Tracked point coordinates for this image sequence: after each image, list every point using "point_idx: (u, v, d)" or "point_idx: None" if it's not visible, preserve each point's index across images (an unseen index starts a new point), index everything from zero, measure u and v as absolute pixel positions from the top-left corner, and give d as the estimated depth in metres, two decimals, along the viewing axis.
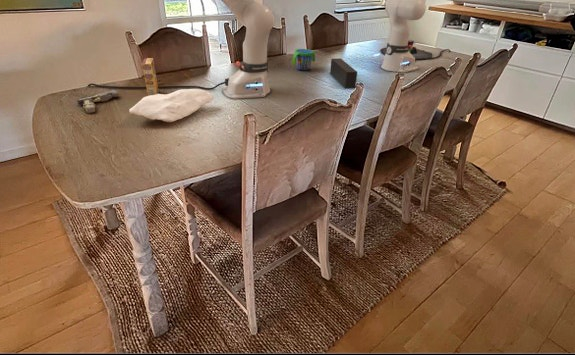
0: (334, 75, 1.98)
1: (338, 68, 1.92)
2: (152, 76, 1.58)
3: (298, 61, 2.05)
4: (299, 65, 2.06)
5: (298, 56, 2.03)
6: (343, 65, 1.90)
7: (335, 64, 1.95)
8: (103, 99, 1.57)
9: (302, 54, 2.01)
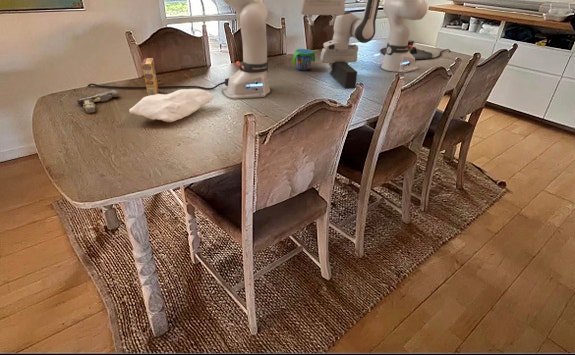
0: (334, 75, 1.98)
1: (338, 68, 1.92)
2: (152, 76, 1.58)
3: (298, 61, 2.05)
4: (299, 65, 2.06)
5: (298, 56, 2.03)
6: (343, 65, 1.90)
7: (335, 64, 1.95)
8: (103, 99, 1.57)
9: (302, 54, 2.01)
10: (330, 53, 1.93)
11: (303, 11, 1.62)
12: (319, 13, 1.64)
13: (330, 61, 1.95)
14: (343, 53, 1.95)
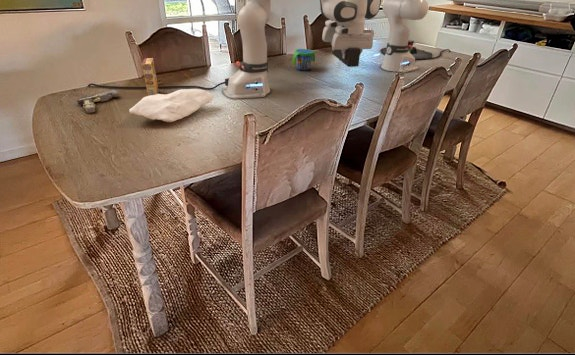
0: (336, 55, 1.92)
1: None
2: (152, 76, 1.58)
3: (298, 61, 2.05)
4: (299, 65, 2.06)
5: (298, 56, 2.03)
6: None
7: None
8: (103, 99, 1.57)
9: (302, 54, 2.01)
10: (332, 31, 1.87)
11: (335, 46, 1.75)
12: None
13: None
14: None
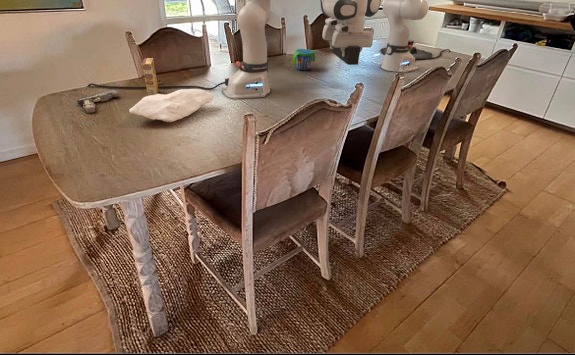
0: (336, 53, 1.92)
1: None
2: (152, 76, 1.58)
3: (298, 61, 2.05)
4: (299, 65, 2.06)
5: (298, 56, 2.03)
6: None
7: None
8: (103, 99, 1.57)
9: (302, 54, 2.01)
10: (332, 30, 1.87)
11: (334, 44, 1.74)
12: None
13: None
14: None
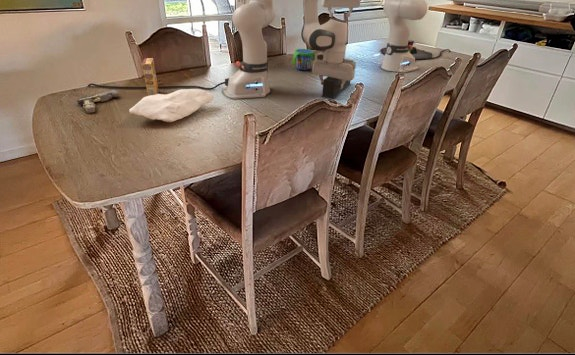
0: None
1: None
2: (152, 76, 1.58)
3: (298, 61, 2.05)
4: (299, 65, 2.06)
5: (298, 56, 2.03)
6: None
7: None
8: (103, 99, 1.57)
9: (302, 54, 2.01)
10: None
11: (312, 70, 1.72)
12: (327, 75, 1.70)
13: (332, 5, 1.86)
14: None
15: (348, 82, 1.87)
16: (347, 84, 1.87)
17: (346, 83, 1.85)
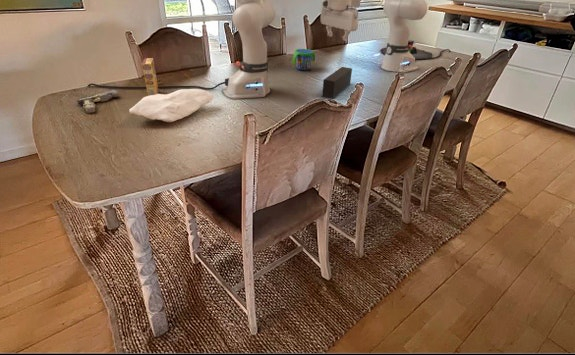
0: None
1: None
2: (152, 76, 1.58)
3: (298, 61, 2.05)
4: (299, 65, 2.06)
5: (298, 56, 2.03)
6: (336, 74, 1.77)
7: None
8: (103, 99, 1.57)
9: (302, 54, 2.01)
10: None
11: None
12: (332, 25, 1.59)
13: None
14: None
15: (348, 82, 1.87)
16: (347, 84, 1.87)
17: (346, 83, 1.85)
